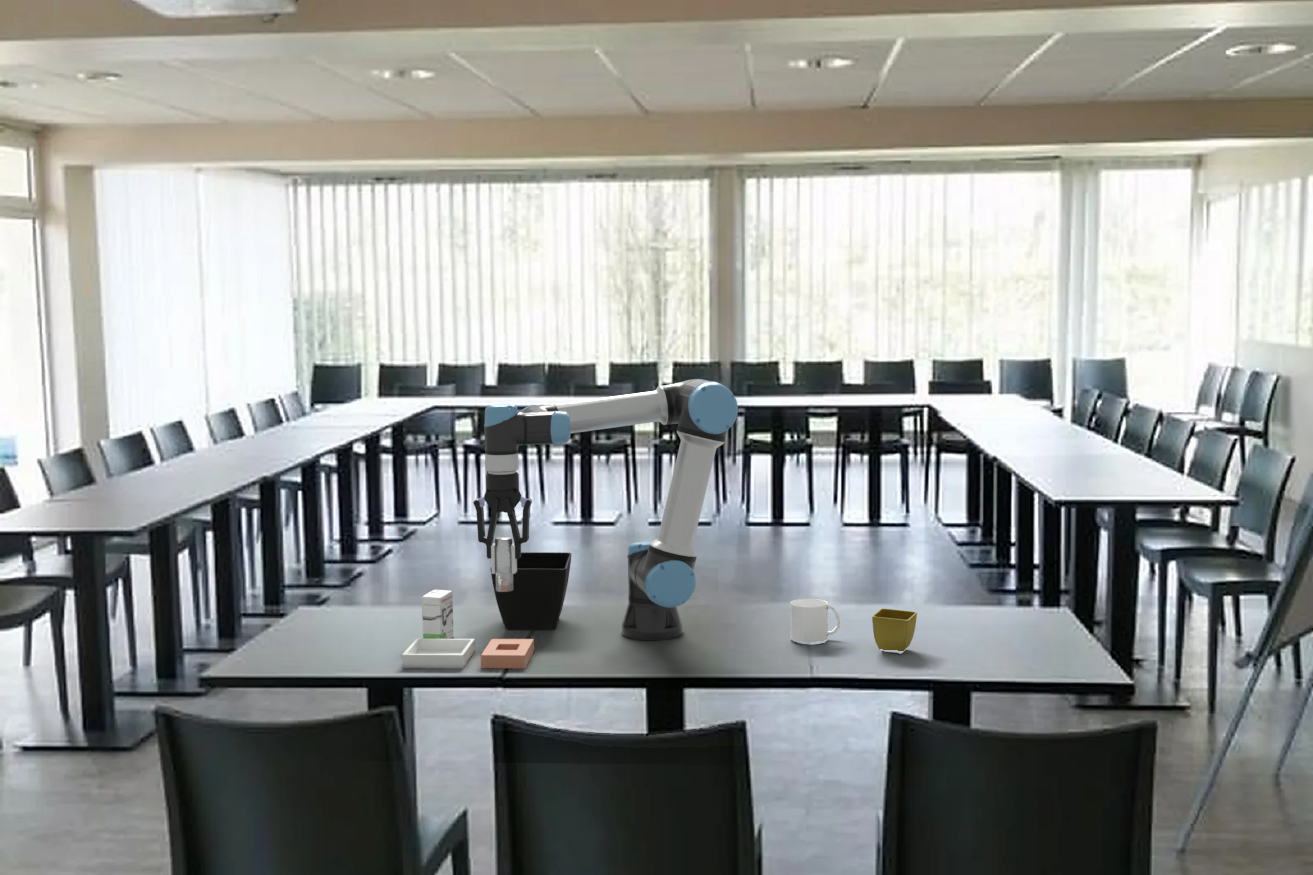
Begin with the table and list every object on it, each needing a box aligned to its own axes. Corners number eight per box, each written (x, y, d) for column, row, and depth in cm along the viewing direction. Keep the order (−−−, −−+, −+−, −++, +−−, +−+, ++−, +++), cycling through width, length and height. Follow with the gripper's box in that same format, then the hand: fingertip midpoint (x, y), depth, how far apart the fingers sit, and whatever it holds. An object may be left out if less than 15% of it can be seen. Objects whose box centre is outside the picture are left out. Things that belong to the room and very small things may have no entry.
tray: (475, 651, 320) (474, 638, 319) (463, 668, 306) (462, 655, 305) (416, 651, 320) (416, 638, 320) (402, 668, 306) (402, 654, 306)
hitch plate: (534, 651, 319) (533, 639, 319) (524, 668, 305) (524, 655, 305) (492, 651, 320) (491, 638, 319) (481, 668, 306) (480, 655, 306)
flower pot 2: (917, 648, 319) (917, 611, 318) (908, 658, 311) (908, 620, 310) (881, 644, 323) (881, 607, 321) (870, 653, 315) (871, 616, 314)
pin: (514, 587, 312) (513, 537, 311) (512, 591, 309) (510, 540, 307) (497, 587, 313) (496, 536, 311) (494, 591, 309) (493, 540, 307)
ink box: (441, 645, 325) (440, 597, 324) (422, 644, 326) (420, 596, 325) (454, 636, 334) (453, 589, 332) (435, 635, 335) (434, 588, 333)
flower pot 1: (567, 633, 335) (566, 567, 333) (491, 634, 335) (489, 567, 334) (572, 614, 354) (571, 551, 352) (501, 615, 354) (499, 552, 352)
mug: (790, 645, 323) (790, 607, 322) (790, 635, 332) (790, 598, 331) (840, 646, 322) (840, 607, 321) (839, 636, 331) (839, 599, 330)
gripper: (541, 469, 311) (543, 569, 313) (468, 469, 312) (470, 568, 314) (536, 474, 303) (538, 576, 306) (462, 474, 304) (464, 575, 307)
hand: (504, 572), depth 310 cm, fingers closed on pin, 4 cm apart
